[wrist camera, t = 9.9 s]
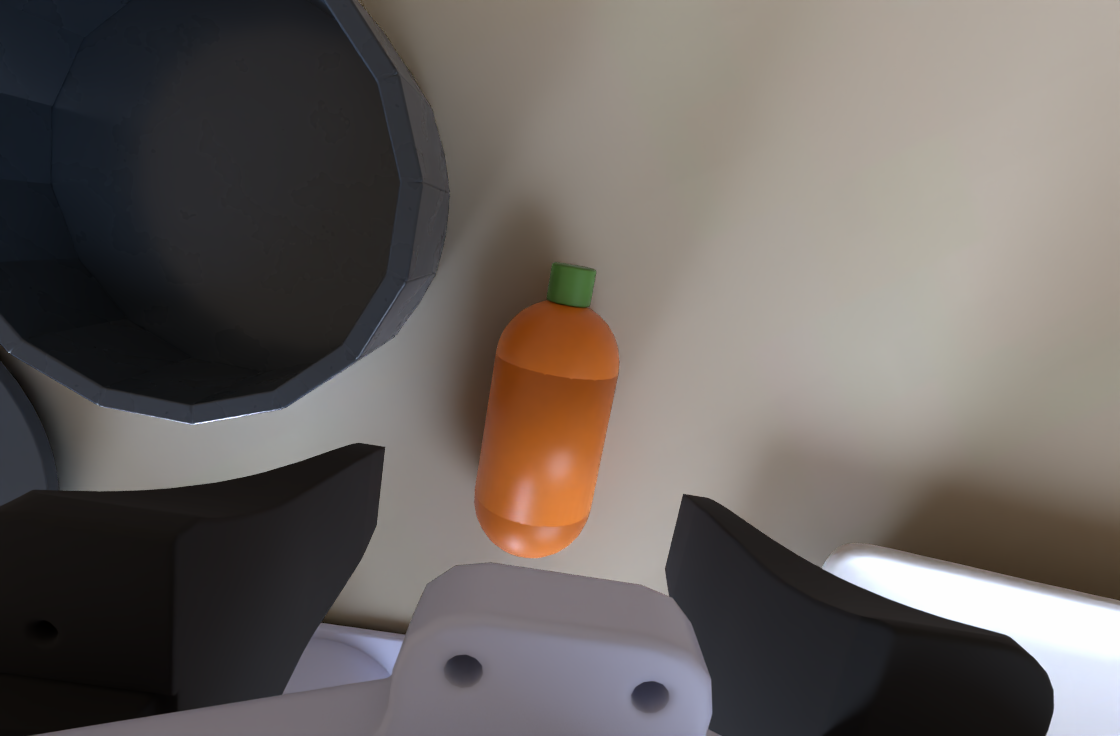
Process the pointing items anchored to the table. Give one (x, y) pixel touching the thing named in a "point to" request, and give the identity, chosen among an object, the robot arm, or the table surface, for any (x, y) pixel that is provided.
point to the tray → (1011, 624)
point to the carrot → (547, 419)
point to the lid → (22, 444)
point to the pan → (209, 198)
